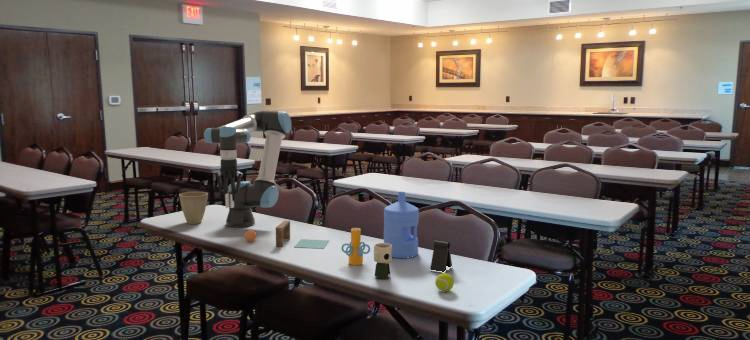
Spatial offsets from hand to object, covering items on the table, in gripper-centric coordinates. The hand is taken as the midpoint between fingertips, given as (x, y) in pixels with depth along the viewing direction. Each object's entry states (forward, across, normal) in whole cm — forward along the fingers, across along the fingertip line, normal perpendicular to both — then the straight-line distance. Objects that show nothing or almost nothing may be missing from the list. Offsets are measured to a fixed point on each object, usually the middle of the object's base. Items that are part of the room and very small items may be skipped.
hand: (229, 207), depth 269 cm
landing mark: (+16, +40, 0) cm, 43 cm away
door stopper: (+17, +101, -30) cm, 107 cm away
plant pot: (+17, -33, +33) cm, 50 cm away
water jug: (+17, +83, -10) cm, 85 cm away
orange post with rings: (+17, +65, -27) cm, 72 cm away
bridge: (+16, +26, 0) cm, 31 cm away
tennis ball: (+17, +102, -55) cm, 117 cm away
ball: (+14, +10, 0) cm, 17 cm away
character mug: (+17, +78, -43) cm, 91 cm away
